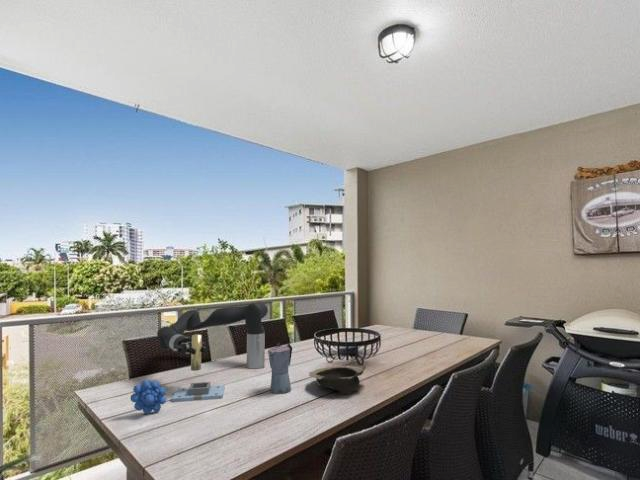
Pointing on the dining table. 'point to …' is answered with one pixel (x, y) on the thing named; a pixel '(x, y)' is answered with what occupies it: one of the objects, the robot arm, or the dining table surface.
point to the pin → (196, 352)
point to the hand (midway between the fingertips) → (199, 350)
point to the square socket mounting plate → (199, 392)
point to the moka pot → (280, 368)
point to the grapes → (148, 396)
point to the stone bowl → (339, 378)
